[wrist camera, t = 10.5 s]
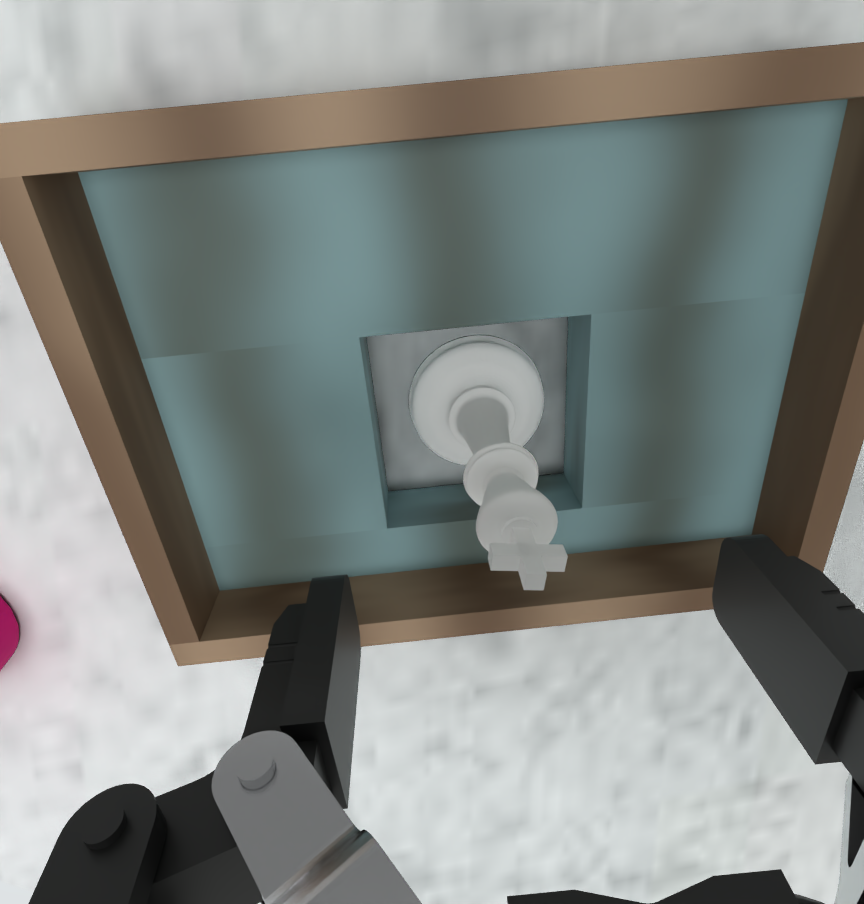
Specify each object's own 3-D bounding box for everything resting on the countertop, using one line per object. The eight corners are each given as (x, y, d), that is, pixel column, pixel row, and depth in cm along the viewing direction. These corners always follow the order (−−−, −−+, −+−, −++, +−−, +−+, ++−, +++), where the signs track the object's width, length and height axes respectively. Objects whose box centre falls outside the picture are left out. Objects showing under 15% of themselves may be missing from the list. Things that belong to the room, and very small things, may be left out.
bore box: (830, 62, 17) (989, 30, 12) (737, 516, 24) (815, 598, 20) (72, 134, 16) (-47, 128, 12) (218, 570, 24) (178, 666, 19)
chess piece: (412, 331, 20) (427, 478, 11) (552, 338, 20) (677, 486, 11) (405, 457, 22) (413, 664, 13) (531, 461, 22) (621, 665, 13)
